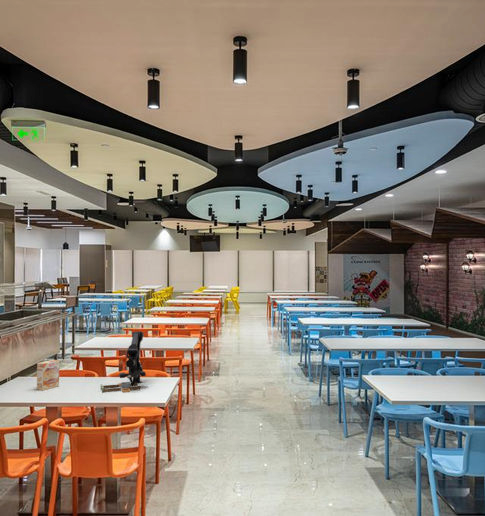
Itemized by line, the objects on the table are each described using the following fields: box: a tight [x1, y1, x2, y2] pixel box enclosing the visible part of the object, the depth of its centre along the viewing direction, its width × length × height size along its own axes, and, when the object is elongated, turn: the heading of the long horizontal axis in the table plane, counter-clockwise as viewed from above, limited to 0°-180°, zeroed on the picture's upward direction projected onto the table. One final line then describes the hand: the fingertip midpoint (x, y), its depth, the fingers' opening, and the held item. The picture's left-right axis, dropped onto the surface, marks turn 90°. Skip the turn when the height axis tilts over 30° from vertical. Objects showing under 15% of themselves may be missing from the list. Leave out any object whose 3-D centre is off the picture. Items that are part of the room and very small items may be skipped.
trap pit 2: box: [121, 388, 131, 393], centre depth 349 cm, size 5×5×2 cm
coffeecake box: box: [36, 359, 60, 391], centre depth 358 cm, size 15×7×20 cm, turn 153°
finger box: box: [100, 382, 141, 394], centre depth 356 cm, size 13×27×3 cm, turn 112°
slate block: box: [120, 381, 131, 390], centre depth 357 cm, size 6×6×4 cm
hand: (132, 386), depth 359 cm, fingers closed
